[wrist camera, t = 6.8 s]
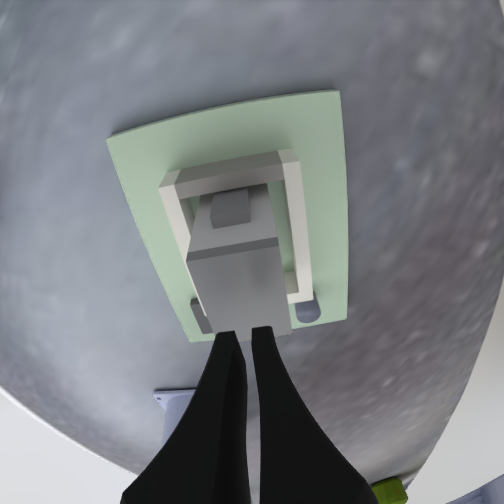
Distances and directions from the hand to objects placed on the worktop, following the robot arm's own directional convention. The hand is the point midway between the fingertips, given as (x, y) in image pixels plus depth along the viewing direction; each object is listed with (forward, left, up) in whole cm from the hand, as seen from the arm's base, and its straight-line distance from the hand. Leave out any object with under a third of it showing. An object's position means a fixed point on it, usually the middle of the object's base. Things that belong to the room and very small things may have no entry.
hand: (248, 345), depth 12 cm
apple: (-93, -24, -9) cm, 96 cm away
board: (-1, 0, -9) cm, 9 cm away
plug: (0, 0, -8) cm, 8 cm away
